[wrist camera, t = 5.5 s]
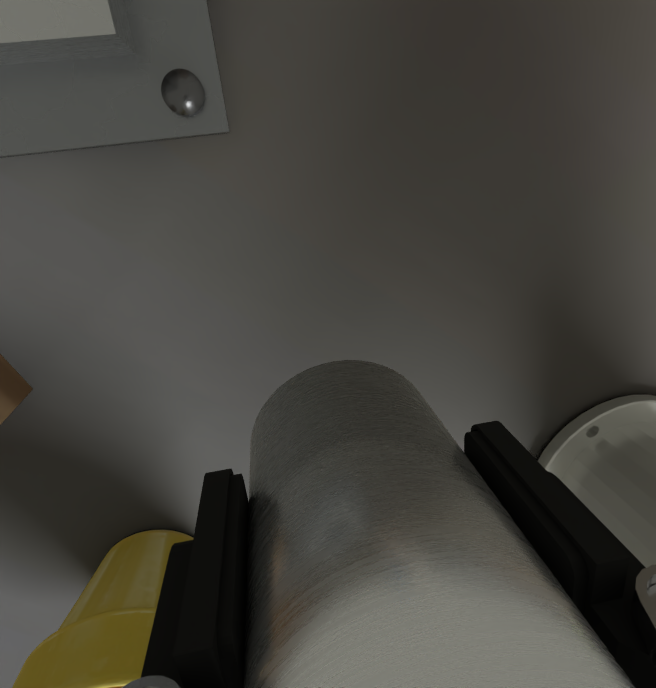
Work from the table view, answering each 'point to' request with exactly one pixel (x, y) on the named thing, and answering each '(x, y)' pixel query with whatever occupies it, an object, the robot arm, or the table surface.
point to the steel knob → (393, 553)
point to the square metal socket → (106, 74)
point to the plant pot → (107, 620)
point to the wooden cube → (11, 389)
